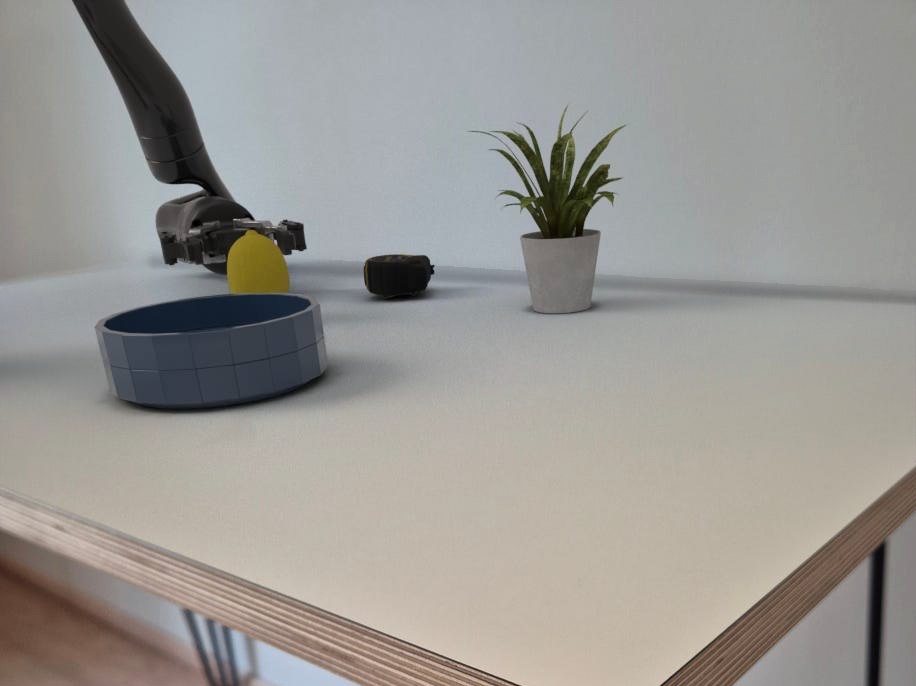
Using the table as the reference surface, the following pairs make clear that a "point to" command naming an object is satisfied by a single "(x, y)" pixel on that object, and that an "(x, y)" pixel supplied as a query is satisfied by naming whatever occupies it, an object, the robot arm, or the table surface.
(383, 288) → the tape measure
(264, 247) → the lemon
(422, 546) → the table surface
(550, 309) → the house plant
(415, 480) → the table surface
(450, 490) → the table surface
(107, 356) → the bowl
